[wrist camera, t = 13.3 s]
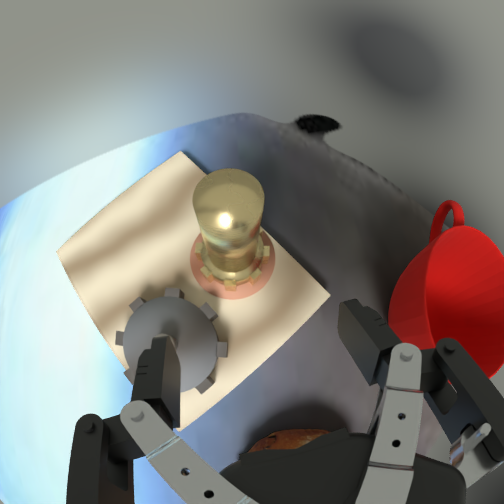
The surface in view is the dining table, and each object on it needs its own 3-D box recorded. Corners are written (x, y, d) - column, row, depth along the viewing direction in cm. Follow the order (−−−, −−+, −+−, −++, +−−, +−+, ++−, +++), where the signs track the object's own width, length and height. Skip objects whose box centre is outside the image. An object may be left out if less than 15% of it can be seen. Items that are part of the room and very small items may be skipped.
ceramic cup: (449, 241, 28) (500, 205, 19) (452, 378, 22) (516, 375, 13) (364, 222, 28) (408, 168, 19) (356, 383, 22) (417, 394, 13)
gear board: (63, 256, 25) (38, 238, 21) (182, 159, 30) (175, 129, 25) (182, 427, 20) (169, 443, 15) (325, 298, 25) (344, 285, 20)
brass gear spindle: (184, 255, 24) (154, 195, 15) (235, 214, 26) (233, 140, 16) (230, 305, 23) (222, 272, 13) (281, 259, 24) (305, 201, 15)
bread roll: (297, 494, 20) (344, 527, 13) (213, 493, 17) (252, 545, 10) (331, 423, 24) (389, 444, 17) (250, 410, 21) (306, 446, 13)
